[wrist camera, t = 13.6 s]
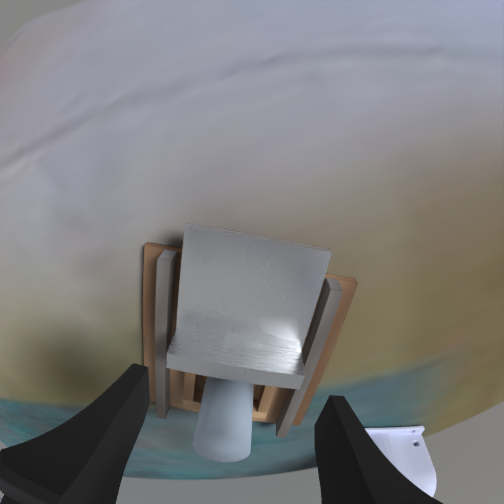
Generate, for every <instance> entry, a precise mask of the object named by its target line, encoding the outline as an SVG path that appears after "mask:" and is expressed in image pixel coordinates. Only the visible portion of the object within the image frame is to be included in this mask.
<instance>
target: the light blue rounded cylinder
mask: <svg viewBox="0 0 504 504" xmlns="http://www.w3.org/2000/svg"><path fill="white" fill-rule="evenodd" d="M253 392H254V384H251V383H245V382H238V381H232V380H226V379H220V378H214V377H209V376H207V378H206V382H205V387H204V392H203V396H202V401H201V406H200V410H199V415H198V420H197V424H196V429H195V434H194V439H193V448H194V450H195V451H196V452H197V453H198V454H200V455H201V456H203V457H205V458H207V459H210V460H213V461H218V462H235V461H240V460H242V459H244V458H246V457H247V456H248V455H249V454H250V449H251V430H252V411H253Z"/></svg>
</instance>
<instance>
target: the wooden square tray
mask: <svg viewBox="0 0 504 504" xmlns="http://www.w3.org/2000/svg"><path fill="white" fill-rule="evenodd" d="M182 249H183V248H177V247H172V246H166V245H161V244H155V243H150V242H147V243H146V244H145V246H144V272H143V350H144V366H146V367H149V390H150V401H151V402H155V403H156V414H157V417H159V418H163V419H166V416H167V413H168V409H169V406H172V407H177V408H181V409H186V410H191V411H196V412H199V410H200V406H201V401H202V396H203V392H204V387H205V382H206V378H207V376H203V375H198V374H193V373H188V372H183V371H179V370H174V369H169V368H166V364H167V351H168V349H169V346H170V344H171V341H172V338H173V336H174V333H175V331H176V324H177V309H178V295H179V282H180V271H181V260H182ZM356 286H357V281H356V279H354V278H348V277H342V276H336V275H330V274H325V278H324V281H323V285H322V288H321V291H320V294H319V298H318V301H317V304H316V307H315V311H314V314H313V317H312V320H311V323H310V326H309V329H308V332H307V335H306V338H305V341H304V344H303V347H302V357H303V365H304V372H305V377H304V379H303V382H302V384H301V387H300V389H291V388H282V387H273V386H266V385H258V384H254V392H253V411H252V421H260V422H268V423H276V437H283V438H285V437H286V435H287V433H288V431H289V429H290V426H291V425H300V424H301V422H302V420H303V417H304V415H305V413H306V411H307V409H308V407H309V405H310V402H311V400H312V398H313V396H314V393H315V391H316V389H317V387H318V384H319V382H320V380H321V377H322V375H323V373H324V370H325V368H326V366H327V363H328V361H329V358H330V356H331V353H332V351H333V348H334V346H335V343H336V341H337V338H338V336H339V333H340V331H341V328H342V325H343V323H344V320H345V317H346V315H347V312H348V309H349V306H350V303H351V301H352V298H353V295H354V292H355V289H356Z"/></svg>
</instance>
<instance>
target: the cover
mask: <svg viewBox="0 0 504 504" xmlns="http://www.w3.org/2000/svg"><path fill="white" fill-rule="evenodd" d="M331 254H332V252H331V250H330V248H325V247H319V246H314V245H309V244H303V243H298V242H293V241H287V240H282V239H276V238H271V237H265V236H259V235H254V234H248V233H243V232H237V231H231V230H226V229H220V228H214V227H208V226H203V225H197V224H191V223H187V224H186V225H185V230H184V239H183V249H182V260H181V271H180V282H179V295H178V309H177V324H176V331H175V333H174V336H173V338H172V341H171V344H170V346H169V349H168V351H167V364H166V368H169V369H174V370H179V371H183V372H188V373H193V374H198V375H203V376H209V377H214V378H220V379H226V380H232V381H238V382H245V383H251V384H258V385H266V386H273V387H282V388H291V389H300V387H301V384H302V382H303V379H304V377H305V372H304V365H303V357H302V347H303V344H304V341H305V338H306V335H307V332H308V329H309V326H310V323H311V320H312V317H313V314H314V311H315V307H316V304H317V301H318V298H319V294H320V291H321V288H322V285H323V281H324V278H325V274H326V271H327V268H328V264H329V261H330V257H331Z"/></svg>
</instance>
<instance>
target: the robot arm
mask: <svg viewBox="0 0 504 504" xmlns="http://www.w3.org/2000/svg"><path fill="white" fill-rule="evenodd" d="M149 402H150V390H149V367H146V366H142V365H138V364H132V365H131V366H130V367H129V368H128V369H127V370H126V371H125V372H124V373H123V374H122V376H121V377H120V378H119V379H118V380H117V381H116V382H115V383H113V384H112V385H111V386H110V387H109V388H108V389H107V390H106V391H105V392H104V393H103V394H102V395H101V396H99V397H98V398H97V399H96V400H95V401H93V402H92V403H91V404H90V405H89V406H87V407H86V408H85V409H84V410H82V411H81V412H79V413H78V414H77V415H75V416H74V417H72V418H71V419H69V420H68V421H66V422H65V423H63V424H61V425H59V426H58V427H56V428H54V429H52V430H51V431H49V432H47V433H45V434H42V435H40V436H38V437H36V438H33V439H31V440H29V441H26V442H24V443H21V444H18V445H15V446H11V447H8V448H5V449H2V450H1V451H0V490H1V491H2V493H4V496H3V498H2V499H1V498H0V504H116V500H117V495H118V491H119V487H120V483H121V480H122V476H123V472H124V469H125V466H126V464H127V461H128V459H129V456H130V454H131V451H132V449H133V447H134V444H135V442H136V439H137V437H138V435H139V432H140V430H141V427H142V425H143V423H144V420H145V416H146V413H147V409H148V406H149ZM423 431H424V426H411V427H390V428H364V427H363V425H362V424H361V422H360V421H359V419H358V418H357V416H356V415H355V413H354V411H353V410H352V408H351V407H350V405H349V403H348V402H347V400H346V399H345V397H344V396H333V395H330V396H329V398H328V400H327V402H326V404H325V406H324V408H323V410H322V412H321V414H320V416H319V418H318V420H317V422H316V424H315V452H316V459H317V466H318V473H319V480H320V487H321V497H322V504H443V503H441V502H440V501H438V500H436V499H434V498H433V495H434V493H435V490H436V473H435V470H434V467H433V464H432V462H431V458H430V456H429V453H428V450H427V448H426V445H425V442H424V440H423V437H422V434H421V433H422V432H423Z"/></svg>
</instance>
